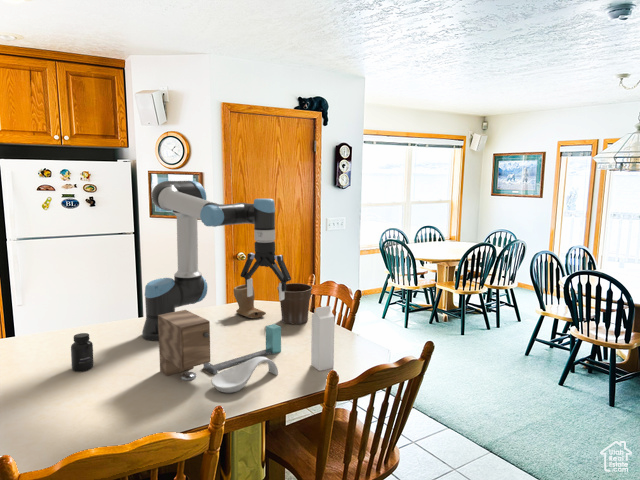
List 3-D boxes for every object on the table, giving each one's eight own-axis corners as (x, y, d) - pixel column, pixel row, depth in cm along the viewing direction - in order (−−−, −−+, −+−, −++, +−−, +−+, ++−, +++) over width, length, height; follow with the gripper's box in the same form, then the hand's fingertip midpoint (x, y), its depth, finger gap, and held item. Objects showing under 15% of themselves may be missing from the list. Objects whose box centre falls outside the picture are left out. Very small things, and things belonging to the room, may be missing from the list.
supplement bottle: (84, 373, 157) (82, 339, 155) (67, 371, 158) (65, 337, 157) (98, 365, 164) (96, 332, 162) (81, 363, 165) (79, 331, 163)
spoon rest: (225, 401, 139) (224, 379, 138) (204, 388, 147) (203, 367, 146) (284, 378, 155) (284, 358, 154) (263, 367, 164) (263, 348, 163)
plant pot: (291, 328, 205) (291, 293, 203) (270, 320, 217) (270, 286, 215) (318, 321, 216) (319, 287, 214) (297, 313, 228) (297, 281, 226)
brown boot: (229, 313, 226) (229, 284, 224) (251, 309, 233) (250, 280, 231) (244, 321, 214) (244, 290, 212) (266, 317, 221) (266, 286, 219)
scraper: (203, 368, 162) (202, 340, 161) (272, 347, 182) (272, 323, 181) (213, 374, 157) (213, 346, 156) (283, 352, 177) (283, 327, 176)
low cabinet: (160, 371, 159) (157, 315, 156) (186, 363, 166) (185, 309, 163) (185, 389, 146) (183, 328, 143) (213, 380, 152) (212, 322, 150)
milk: (333, 368, 164) (335, 308, 161) (318, 371, 161) (320, 310, 158) (325, 361, 169) (326, 303, 166) (310, 364, 166) (311, 305, 163)
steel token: (178, 378, 155) (177, 374, 155) (191, 373, 158) (191, 370, 158) (185, 383, 151) (184, 379, 151) (198, 378, 154) (198, 375, 154)
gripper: (230, 240, 170) (231, 296, 172) (290, 244, 160) (290, 303, 162) (241, 238, 176) (242, 292, 179) (300, 241, 166) (300, 299, 169)
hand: (265, 298), depth 171 cm, fingers open, 13 cm apart
